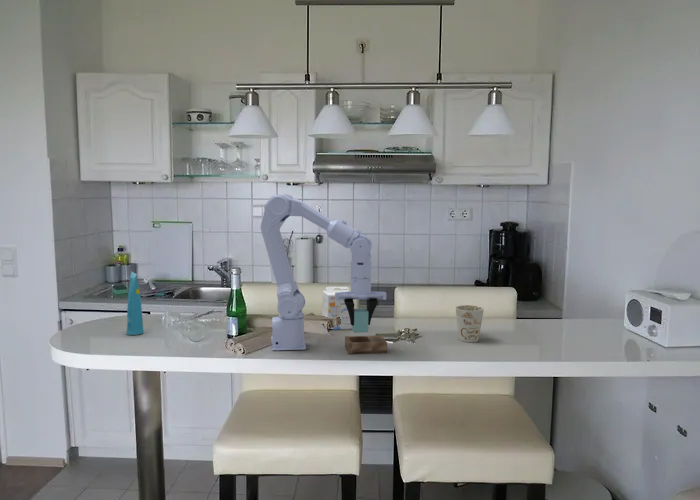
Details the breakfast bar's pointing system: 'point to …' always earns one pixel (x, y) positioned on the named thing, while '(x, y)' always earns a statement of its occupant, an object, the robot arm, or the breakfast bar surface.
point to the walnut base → (365, 344)
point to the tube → (134, 308)
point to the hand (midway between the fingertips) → (360, 324)
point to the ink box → (336, 307)
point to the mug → (469, 322)
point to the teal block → (360, 321)
